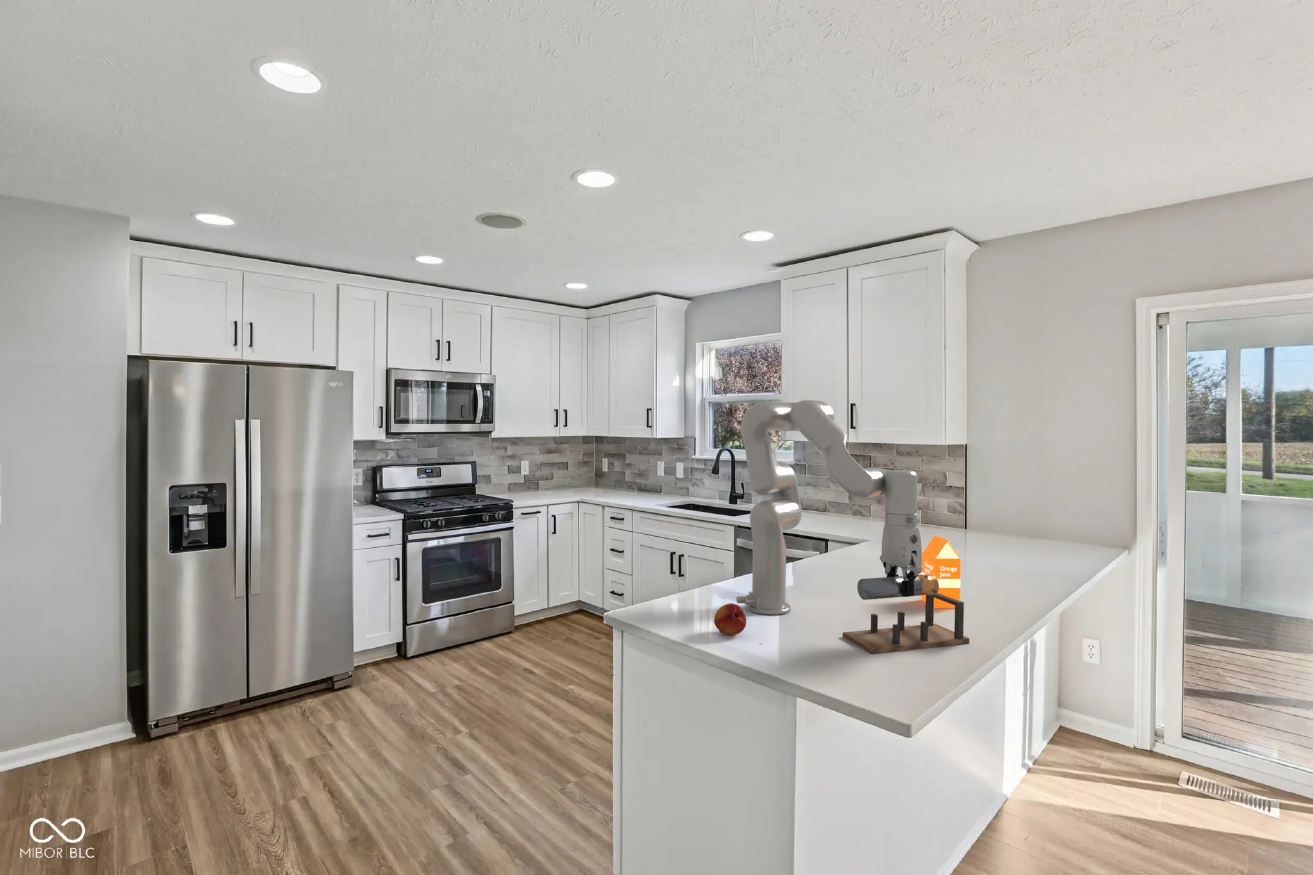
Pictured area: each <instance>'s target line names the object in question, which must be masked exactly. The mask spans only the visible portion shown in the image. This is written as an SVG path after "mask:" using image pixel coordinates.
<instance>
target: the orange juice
mask: <svg viewBox="0 0 1313 875" xmlns="http://www.w3.org/2000/svg"><path fill="white" fill-rule="evenodd" d="M961 562H962V561H961V558H960V557H959V555H958V553H957V552H956V550H955V549H954V547H953V546H952V544H951V543H950V541H949V540H948V539H946V538H943V537H941V536H938V535H936V534H935V535H933V537H932V538H931V540H930V541H929V542H928V544H927V545H926V547H925V548H924V550H922V566H921V567H922V569H923V571H922V572H921V575H925V574H932V575H934V576H935V577H936V578H937V580H938V583H939V590H938V592H937V593H939V594H942V595H945V596H948V597H950V598H953V599H956V600H959V601H961V564H962V563H961ZM920 597H921V601H923V602H925V603H926V595H920ZM934 609H955V605H952V604H949V603H947V602H944V601H941V600H939V599H936V598H934Z"/></svg>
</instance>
